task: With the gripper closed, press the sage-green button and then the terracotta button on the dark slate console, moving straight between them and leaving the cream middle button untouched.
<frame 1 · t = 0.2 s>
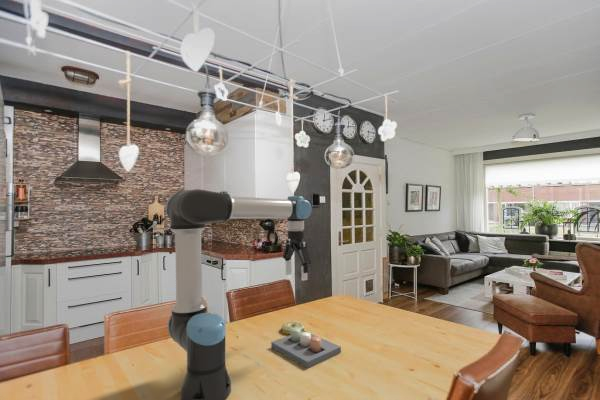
hand: (296, 277, 140), 27 cm above the table, fingers open, 13 cm apart
cream button: (305, 339, 125), point 5 cm above the table, slide at 0.0 cm
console: (305, 351, 125), on the table
sage button: (295, 334, 130), point 5 cm above the table, slide at 0.0 cm
terracotta button: (315, 344, 121), point 5 cm above the table, slide at 0.0 cm
decorated donut: (293, 332, 145), on the table
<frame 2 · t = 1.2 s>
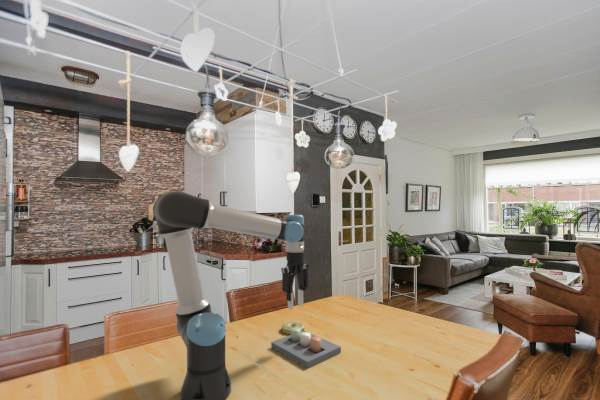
hand: (295, 306, 130), 17 cm above the table, fingers open, 5 cm apart
nothing on the table moved.
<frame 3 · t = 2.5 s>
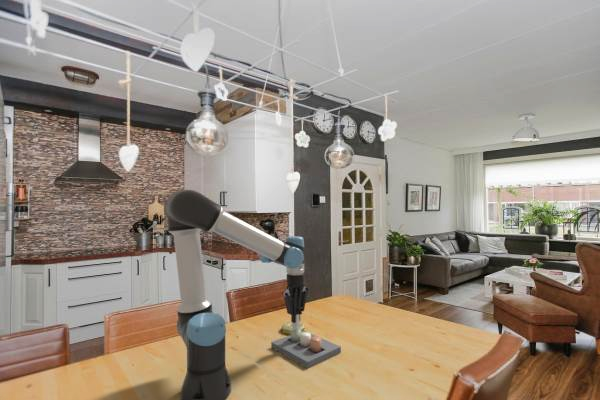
hand: (295, 329, 130), 7 cm above the table, fingers closed
sage button: (295, 335, 130), point 5 cm above the table, slide at -0.2 cm, touching gripper
everything else where it was.
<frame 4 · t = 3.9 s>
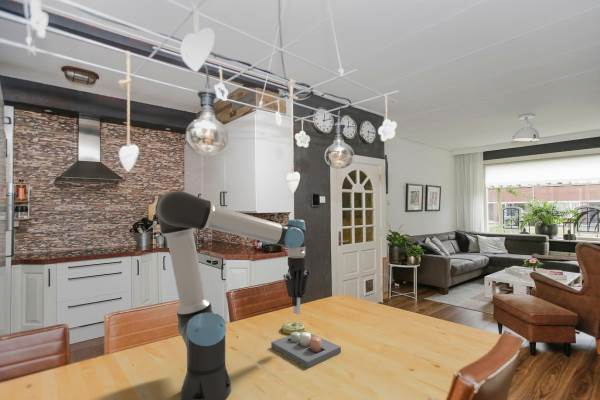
hand: (296, 312, 129), 14 cm above the table, fingers closed
sage button: (295, 338, 129), point 3 cm above the table, slide at -1.6 cm
everything else where it was.
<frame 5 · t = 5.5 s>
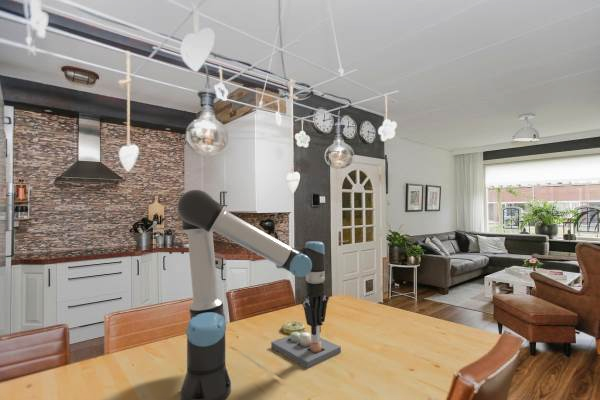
hand: (316, 341, 121), 6 cm above the table, fingers closed
terracotta button: (315, 347, 121), point 4 cm above the table, slide at -1.4 cm, touching gripper
everything else where it was.
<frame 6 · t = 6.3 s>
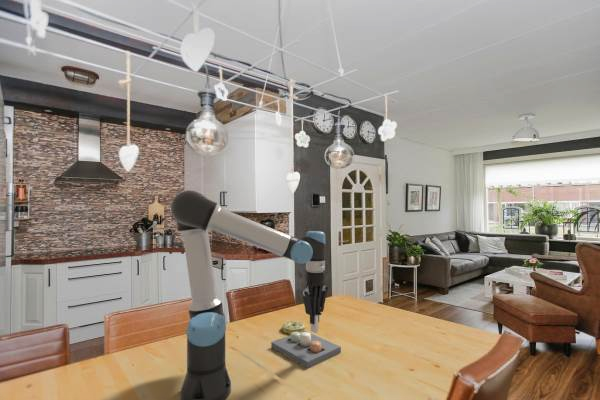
hand: (314, 331, 120), 10 cm above the table, fingers closed
terracotta button: (315, 348, 120), point 3 cm above the table, slide at -1.6 cm
everything else where it was.
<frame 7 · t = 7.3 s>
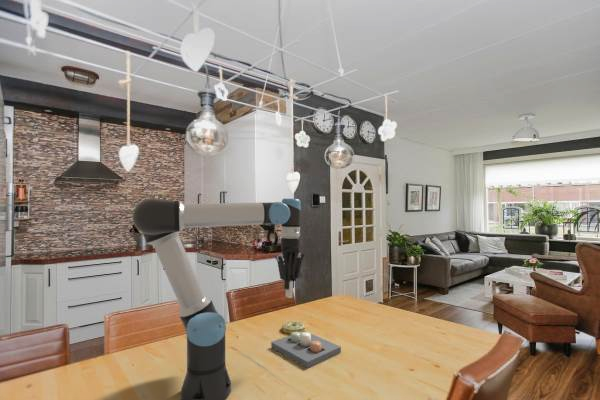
hand: (289, 297, 122), 23 cm above the table, fingers closed
nothing on the table moved.
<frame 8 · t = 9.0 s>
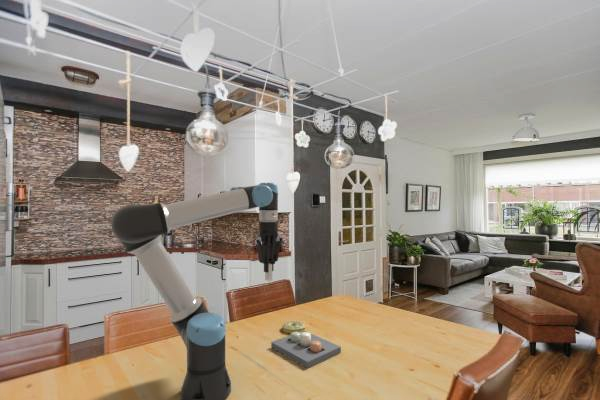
hand: (268, 279, 124), 29 cm above the table, fingers closed
at the end: sage button slide at -1.6 cm; terracotta button slide at -1.6 cm; cream button slide at 0.0 cm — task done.
